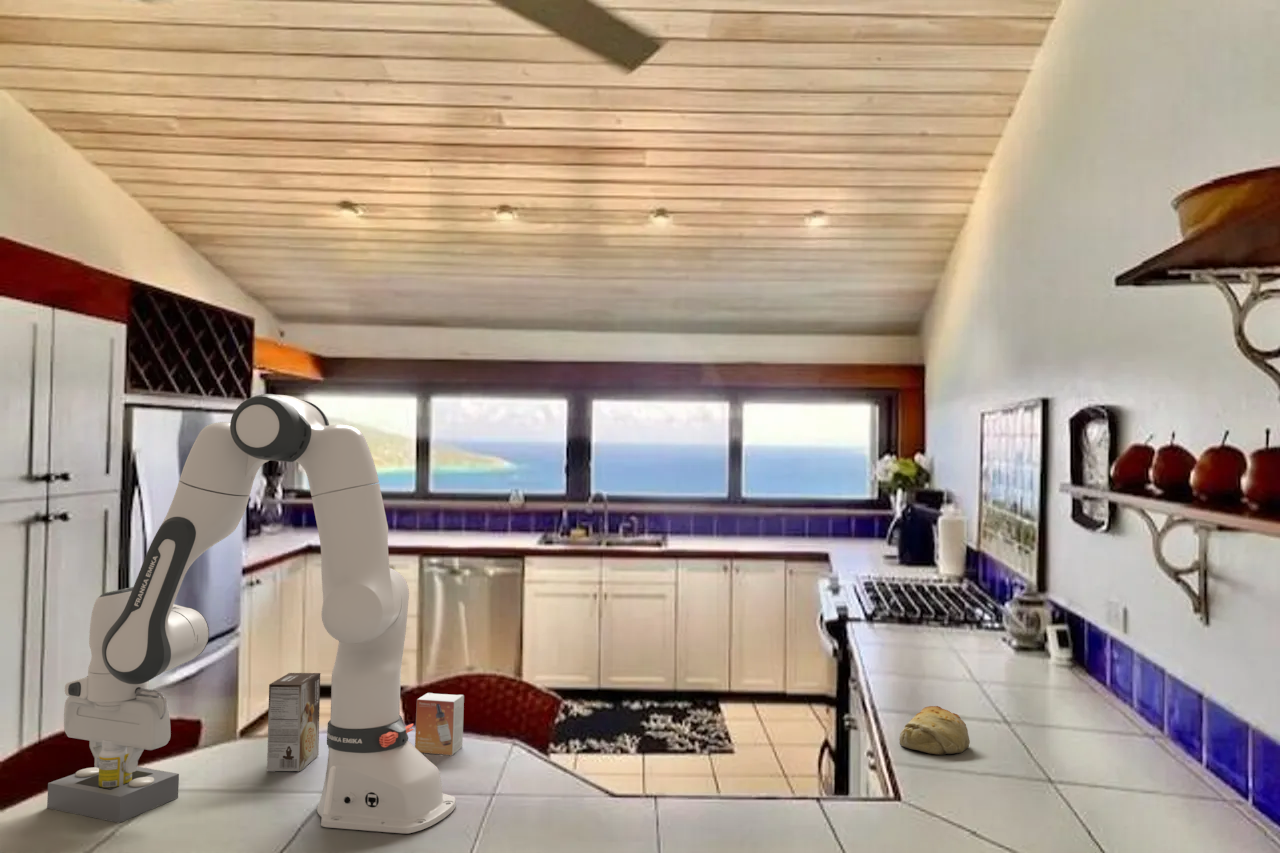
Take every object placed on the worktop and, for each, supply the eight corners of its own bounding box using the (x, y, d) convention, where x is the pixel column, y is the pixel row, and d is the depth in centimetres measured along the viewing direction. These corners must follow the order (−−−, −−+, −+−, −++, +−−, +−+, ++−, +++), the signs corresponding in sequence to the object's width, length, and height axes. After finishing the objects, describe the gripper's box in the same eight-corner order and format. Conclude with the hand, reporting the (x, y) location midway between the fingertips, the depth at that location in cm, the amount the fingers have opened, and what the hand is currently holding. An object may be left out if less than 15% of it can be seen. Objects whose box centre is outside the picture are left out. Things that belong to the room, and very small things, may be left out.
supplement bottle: (125, 781, 147) (126, 731, 148) (136, 788, 144) (138, 736, 145) (93, 789, 144) (95, 737, 144) (104, 796, 141) (106, 743, 141)
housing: (178, 797, 146) (179, 771, 147) (119, 822, 136) (120, 794, 136) (108, 784, 152) (109, 759, 152) (47, 807, 142) (48, 780, 142)
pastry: (964, 740, 184) (964, 702, 184) (975, 760, 171) (975, 719, 172) (895, 735, 186) (895, 698, 187) (901, 754, 174) (901, 714, 174)
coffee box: (286, 755, 168) (289, 671, 169) (319, 755, 168) (321, 672, 169) (265, 772, 159) (268, 683, 160) (300, 772, 159) (302, 684, 160)
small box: (414, 753, 171) (415, 699, 171) (425, 744, 176) (426, 691, 177) (452, 756, 169) (454, 701, 170) (463, 747, 175) (464, 694, 175)
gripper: (181, 686, 144) (179, 771, 144) (92, 675, 151) (89, 756, 151) (148, 696, 138) (146, 784, 138) (57, 684, 145) (54, 768, 145)
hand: (115, 769), depth 144 cm, fingers closed on supplement bottle, 5 cm apart
